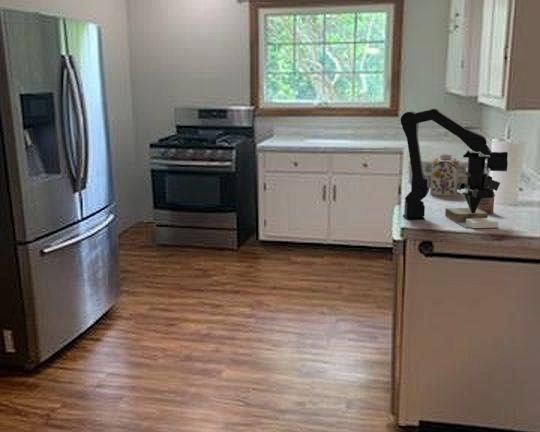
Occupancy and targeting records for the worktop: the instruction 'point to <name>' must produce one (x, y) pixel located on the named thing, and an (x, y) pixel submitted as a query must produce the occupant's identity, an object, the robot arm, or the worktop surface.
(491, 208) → the lighter
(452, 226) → the worktop surface
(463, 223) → the mat
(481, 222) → the rectangular block
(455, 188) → the decorative jar
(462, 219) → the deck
